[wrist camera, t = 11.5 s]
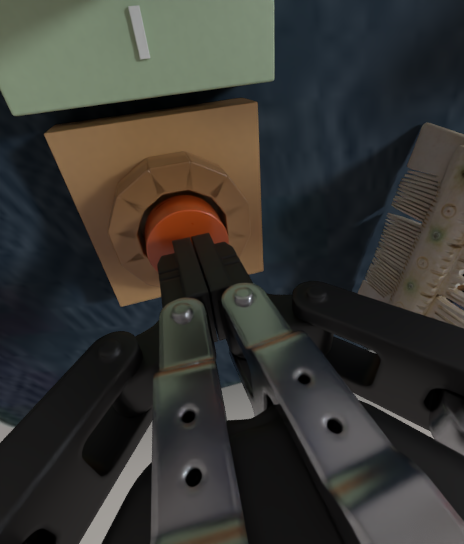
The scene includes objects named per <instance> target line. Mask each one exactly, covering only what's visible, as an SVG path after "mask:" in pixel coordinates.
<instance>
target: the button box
mask: <svg viewBox="0 0 464 544" xmlns="http://www.w3.org/2000/svg"><path fill="white" fill-rule="evenodd" d="M44 136H45V138H46V140H47V143H48V145H49V147H50V149H51V152H52V154H53V156H54V158H55V160H56V163H57V165H58V167H59V169H60V172H61V174H62V176H63V178H64V181H65V183H66V185H67V187H68V190H69V192H70V194H71V196H72V199H73V201H74V203H75V205H76V207H77V210H78V212H79V214H80V216H81V219H82V221H83V223H84V225H85V228H86V230H87V232H88V234H89V237H90V239H91V241H92V243H93V245H94V248H95V250H96V252H97V254H98V257H99V259H100V261H101V263H102V266H103V268H104V270H105V272H106V275H107V277H108V279H109V281H110V283H111V286H112V288H113V290H114V292H115V295H116V297H117V299H118V301H119V304H120V306H121V307H122V306H126V305H130V304H134V303H138V302H142V301H146V300H150V299H154V298H158V297H161V290H160V283H159V282H160V281H159V274H158V272H157V271H156V270H155V269H154V268H153V267H152V265H151V264H150V262H149V260H148V257H147V253H146V241H145V224H146V220H147V218H148V216H149V214H150V212H151V211H152V209H153V208H154V207H155V206H156V205H157V204H159V203H160V202H161V201H163V200H165V199H167V198H170V197H173V196H177V195H191V196H195V197H198V198H201V199H203V200H204V201H206V202H207V203H209V204H210V205H211V206H212V207H213V208H214V210H215V211H216V213H217V215H218V216H219V218H220V220H221V221H222V223H223V225H224V227H225V229H226V231H227V234H228V238H229V245H231V246H232V247H233V248H234V250H235V252H236V254H237V256H238V257H239V259H240V261H241V263H242V264H243V266H244V268H245V270H246V272H247V273H248V275H249V274H253V273H257V272H261V271H263V245H262V216H261V187H260V159H259V130H258V103H257V102H256V101H252V100H249V99H245V98H236V99H229V100H222V101H215V102H208V103H202V104H195V105H188V106H181V107H174V108H167V109H160V110H153V111H146V112H139V113H132V114H125V115H118V116H111V117H104V118H98V119H91V120H84V121H77V122H70V123H63V124H56V125H54V126H53V127H52V128H50V129H49V130H48V131H47V132H45V133H44Z"/></svg>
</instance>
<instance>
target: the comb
mask: <svg viewBox="0 0 464 544" xmlns="http://www.w3.org/2000/svg"><path fill="white" fill-rule="evenodd" d="M407 167H409V168H410V169H413V170H416V171H421V172H425V173H420V172H415V171H408V173H411V174H415V175H418V176H414V175H409V174H405V175H404V176H405V177H409V178H412V179H407V178H402V179H401V180H403V181H407V182H400V184H403V185H398V186H399V187H401V188H398V190H400V191H402V192H404V193H402V192H398V191H397V192H396V193H397V194H399V195H400V196H402V197H400V196H395V198H397V199H394V198H393V200H394V201H396V202H398V203H396V202H392V204H391V205H392V206H393V207H395V208H396V209H398V210H400V211H401V212H403V213H405V214H407V215H409V216H411V217H413V218H415V219H417V220H419V221H421V222H423V223H422V224H421V223H418V222H415V221H413V220H410V219H407V218H404V217H401V216H398V215H394V214H391V213H388V215H390V216H387V217H388V218H389V219H392V220H394V221H392V220H388V219H386V220H387V221H388V222H390V223H392V224H394V225H392V224H388V223H386V222H385V224H386V225H387V226H388V227H385V226H384V227H385V228H386V229H388V230H389V231H388V230H384V229H383V231H385V232H386V233H385V232H382V233H383V234H384V235H385V236H384V235H382V234H381V236H382V237H383V238H384V239H381V238H380V240H381V241H383V242H384V243H382V242H378V243H379V244H381V245H379V246H380V247H381V248H382V249H383V250H382V249H380V248H377V249H378V250H379V251H377V250H376V252H377V253H375V254H376V255H375V254H374V255H375V256H376V257H377V258H378V259H379V260H380V261H379V260H377V259H375V258H373V259H374V260H375V261H374V260H372V262H373V263H374V264H375V265H373V264H372V263H371V264H370V265H372V266H373V267H372V266H369V267H370V268H371V269H370V268H368V269H369V270H370V271H371V272H370V271H368V270H367V272H368V273H369V274H368V273H366V274H367V275H368V276H367V275H366V277H367V278H366V277H365V279H366V280H367V281H365V280H363V282H362V284H361V287H360V289H359V291H358V294H360V295H363V296H366V297H369V298H372V299H376V300H379V301H382V302H385V303H388V304H391V305H394V306H397V307H400V308H403V309H406V310H409V311H412V312H415V313H418V314H421V315H424V316H427V317H430V318H433V319H436V320H439V321H443V322H446V323H449V324H452V325H455V326H458V327H461V328H464V311H463V310H462V309H460V308H458V307H457V306H455V305H454V304H452V303H451V302H449V301H448V300H447V299H446V298H448V299H450V300H452V301H454V302H455V303H457V304H459V305H461V306H463V307H464V292H462V291H460V290H458V289H457V287H458V286H460V284H462V285H464V277H463V276H462V275H461V274H464V134H461V133H458V132H455V131H452V130H449V129H446V128H443V127H440V126H437V125H434V124H431V123H428V122H427V123H425V124H424V125H423V126H422V128H421V131H420V133H419V136H418V139H417V142H416V144H415V147H414V150H413V152H412V154H411V157H410V159H409V162H408V164H407ZM426 173H428V174H426ZM430 174H432V175H430ZM435 175H437V176H435ZM419 176H421V177H419ZM423 177H424V178H423ZM414 179H415V180H414ZM418 180H419V181H418ZM408 182H412V183H408ZM425 182H426V183H425ZM413 183H415V184H413ZM429 183H430V184H429ZM432 184H433V185H432ZM404 185H406V186H404ZM436 185H437V186H436ZM409 186H410V187H409ZM402 188H404V189H402ZM406 189H407V190H406ZM405 193H407V194H405ZM403 197H404V198H403ZM398 199H399V200H398ZM401 200H402V201H401ZM399 203H400V204H399ZM395 221H396V222H395ZM390 227H391V228H390ZM385 239H386V240H385ZM387 240H388V241H387ZM385 243H386V244H385Z"/></svg>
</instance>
